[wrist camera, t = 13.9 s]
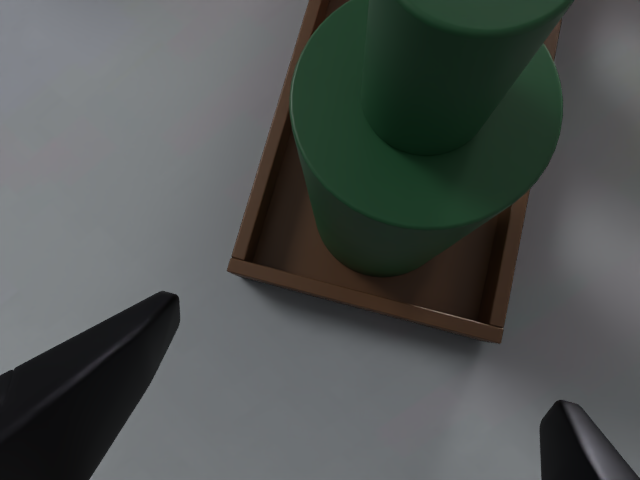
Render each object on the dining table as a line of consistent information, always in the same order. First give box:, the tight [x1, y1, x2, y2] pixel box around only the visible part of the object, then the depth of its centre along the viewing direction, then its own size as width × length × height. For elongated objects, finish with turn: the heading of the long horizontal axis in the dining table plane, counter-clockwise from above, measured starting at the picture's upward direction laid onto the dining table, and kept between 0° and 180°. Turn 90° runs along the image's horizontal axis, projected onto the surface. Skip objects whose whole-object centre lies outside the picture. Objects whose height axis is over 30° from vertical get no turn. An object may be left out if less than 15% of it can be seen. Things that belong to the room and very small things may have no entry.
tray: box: [227, 0, 562, 344], centre depth 20 cm, size 28×11×2 cm, turn 165°
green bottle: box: [289, 0, 574, 277], centre depth 12 cm, size 6×6×14 cm
